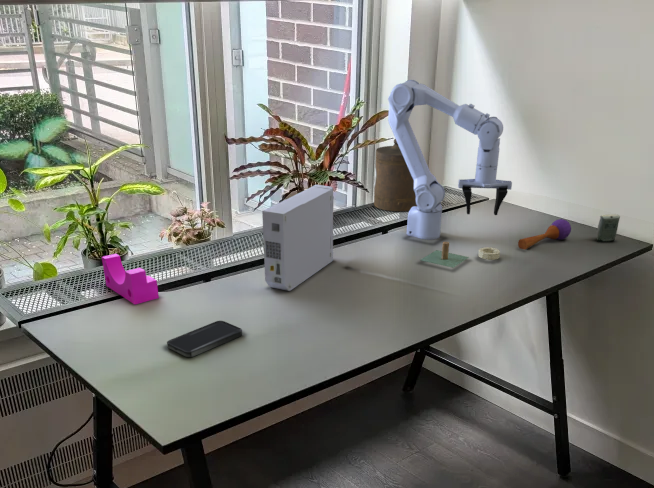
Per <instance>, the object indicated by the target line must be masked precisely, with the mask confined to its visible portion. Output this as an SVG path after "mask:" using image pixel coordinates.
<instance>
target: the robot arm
mask: <svg viewBox="0 0 654 488" xmlns="http://www.w3.org/2000/svg"><path fill="white" fill-rule="evenodd" d="M387 100H388V118H387V121H388V124H389V127H390V130H391V132H392V134H393V136H394V139H396V141H397V143H398V145H399V148H400V150H401V152H402V155H403V157H404V159H405V162H406V164H407V166H408V169H409V171H410V173H411V175H412V178H413V180H414V192H415V195H416V204H417V206H413V207H412V208H411V209H410V210H409V211H408V214H407V219H406V220H407V222H406V224H407V225H406V236H410V237H415V238H418V239H421V240H428V241H431V240H437V239H439V238H440V237H441V228H442V215H443V206H442V203H441V202H443V201H444V199H445V197H446V191H445V187H444V186H443V185H442V184H441V183H439V181H438V179H437V177H436V176H435V175H434V174H433V173H432V172H431V170H430V167H429V166H428V165H429V164H427V160H426V159H425V156H424V153H423V151H422V149H421V147H420V145H419V142H418V139H417V137H416V135H415V133H414V130H413V128H412V125H411V123H410V121H409V119H410V116H411V114H412V112H413V109H414V108H415V107H416V106H424V105H427V106H430V107H432V108H434V109H436V110H438V111H439V112H442V113H444V114H446V115H448V116H450V117H452V119H453V121H454V124H455V125H457V126H458V127H460V128H462V129H464V130H466V131H468V132H470V133H472V135H476V136H477V138H478V140H479V141H478V148H477V157H476V164H475V166H476V167H475V175H474V178H467V179H466V178H465V179H458V181H457V183H458V184H457V187H458V189H461V190H462V193H463V197H464V200H465V201H464V202H465V206H466V214H467V215H471V202H472V195H473V191H472V189H496V190H495V200H494V201H495V202H494V207H493V215H494V216H498V213H499V210H500V207H501V205H502V203H503V201H504V199H505V198H506V196H507V195H508V190H509V191H510V190H512V186H513V182H512V180H503V179H497V173H498V166H499V158H500V157H499V156H500V144H501V138H500V137H501V136H502V134H503V132H504V124H503V122H502V121H501V119H499V118H498V117H497V116H491V114H490V113H488V112H486V113H485V112H482V111H481V110H478V109H477V108H475V105H474V104H472V103H469V104H467V103H463V104H460V105H459V104H457V103H455V102H454V101H453V100H451V99H449V98H447V97H446V96H444V95H442V93H439V92H437V91H436V90H434V89H432V88H431V87H429V86H428V85H426V84H424V83H421V82H420V83H419V81H418V80H415V79H408V80H405V82H401V83H397V84H396V85H394V87H393V88H392V89H391V91H390V94H389V95H388V98H387Z"/></svg>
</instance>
